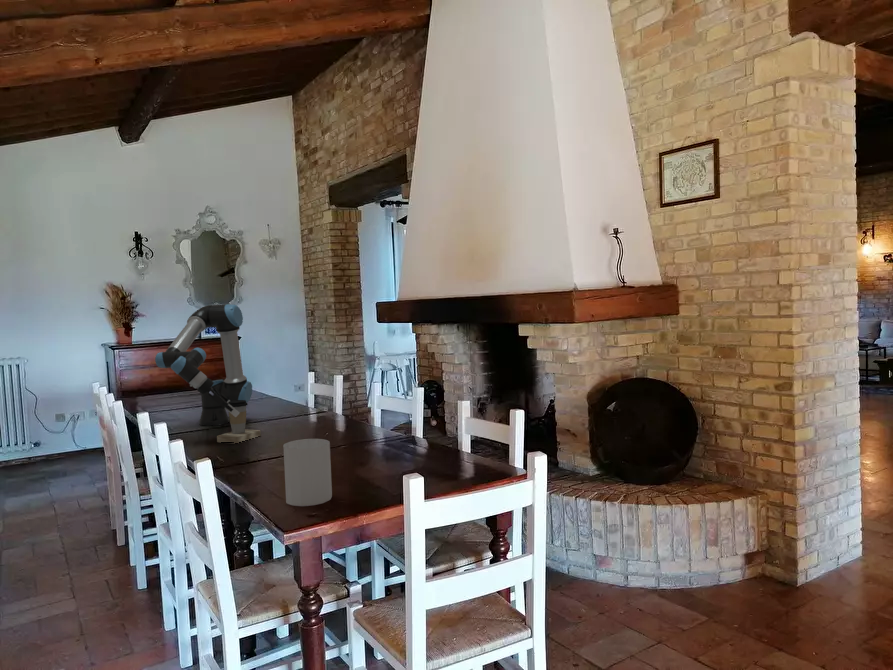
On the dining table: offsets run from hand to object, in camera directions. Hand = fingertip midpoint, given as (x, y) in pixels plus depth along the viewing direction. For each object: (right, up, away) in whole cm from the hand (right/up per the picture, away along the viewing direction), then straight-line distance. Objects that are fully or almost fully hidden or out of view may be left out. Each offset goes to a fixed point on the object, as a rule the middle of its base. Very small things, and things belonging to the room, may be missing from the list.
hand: (237, 412), depth 303 cm
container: (+54, -16, -97) cm, 112 cm away
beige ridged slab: (0, -13, +1) cm, 13 cm away
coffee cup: (0, -10, +1) cm, 10 cm away
